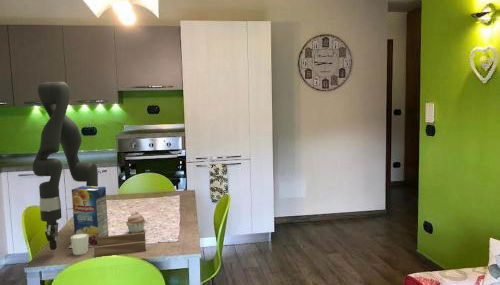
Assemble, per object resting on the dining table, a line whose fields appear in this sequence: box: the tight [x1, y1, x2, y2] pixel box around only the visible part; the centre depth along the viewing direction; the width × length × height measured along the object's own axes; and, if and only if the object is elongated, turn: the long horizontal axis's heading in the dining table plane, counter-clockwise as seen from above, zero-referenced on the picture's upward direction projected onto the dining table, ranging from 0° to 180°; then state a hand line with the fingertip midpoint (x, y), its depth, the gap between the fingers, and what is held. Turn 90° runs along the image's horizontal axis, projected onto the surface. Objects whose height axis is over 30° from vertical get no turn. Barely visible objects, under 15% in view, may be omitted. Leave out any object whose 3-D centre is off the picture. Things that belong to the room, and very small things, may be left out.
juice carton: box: [71, 185, 110, 246], centre depth 177 cm, size 12×8×24 cm, turn 76°
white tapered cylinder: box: [70, 233, 89, 256], centre depth 164 cm, size 7×7×7 cm
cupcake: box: [125, 210, 147, 234], centre depth 189 cm, size 9×9×10 cm
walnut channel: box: [93, 231, 147, 257], centre depth 169 cm, size 13×20×4 cm, turn 105°
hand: (53, 249), depth 162 cm, fingers closed
